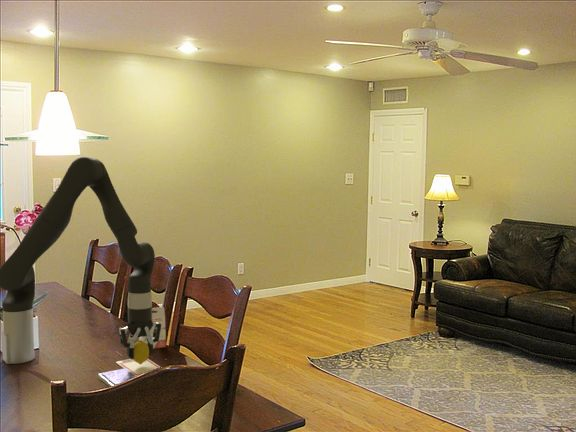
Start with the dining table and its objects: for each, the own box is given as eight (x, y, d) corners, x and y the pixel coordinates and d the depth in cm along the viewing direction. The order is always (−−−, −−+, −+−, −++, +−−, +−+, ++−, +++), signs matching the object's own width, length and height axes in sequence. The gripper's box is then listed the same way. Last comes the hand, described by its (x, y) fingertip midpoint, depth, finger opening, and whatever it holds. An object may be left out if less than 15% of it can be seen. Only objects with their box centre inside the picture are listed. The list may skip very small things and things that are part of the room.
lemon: (140, 368, 199) (140, 343, 198) (128, 365, 202) (127, 340, 201) (152, 363, 204) (152, 339, 203) (140, 360, 207) (140, 336, 206)
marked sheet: (137, 378, 193) (137, 377, 193) (115, 362, 207) (115, 361, 207) (167, 372, 199) (167, 371, 199) (144, 357, 213) (144, 356, 213)
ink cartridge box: (162, 343, 229) (161, 303, 227) (166, 347, 224) (165, 306, 223) (138, 346, 225) (138, 306, 223) (142, 350, 221) (141, 309, 219)
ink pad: (114, 390, 183) (113, 385, 183) (98, 377, 193) (98, 372, 193) (143, 384, 188) (143, 379, 188) (126, 372, 199) (126, 367, 199)
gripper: (122, 310, 194) (123, 364, 196) (165, 304, 202) (166, 356, 204) (113, 306, 200) (114, 357, 202) (155, 300, 208) (156, 350, 210)
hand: (140, 356), depth 203 cm, fingers closed on lemon, 5 cm apart
